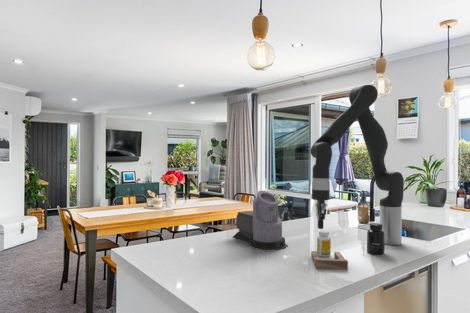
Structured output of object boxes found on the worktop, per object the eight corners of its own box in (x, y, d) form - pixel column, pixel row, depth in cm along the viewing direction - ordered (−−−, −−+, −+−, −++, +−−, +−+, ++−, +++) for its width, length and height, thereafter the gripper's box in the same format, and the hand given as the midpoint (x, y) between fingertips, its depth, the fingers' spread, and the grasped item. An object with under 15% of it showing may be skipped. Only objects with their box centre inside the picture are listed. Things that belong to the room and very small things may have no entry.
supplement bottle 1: (314, 254, 132) (314, 231, 132) (320, 252, 136) (320, 229, 136) (326, 257, 128) (326, 233, 128) (332, 254, 132) (332, 231, 132)
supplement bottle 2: (374, 255, 130) (374, 226, 130) (363, 251, 137) (363, 222, 137) (388, 254, 132) (388, 225, 132) (377, 249, 139) (376, 222, 139)
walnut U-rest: (311, 257, 129) (311, 249, 129) (339, 258, 127) (339, 250, 127) (316, 268, 115) (316, 260, 115) (347, 269, 114) (347, 261, 114)
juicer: (294, 247, 143) (294, 192, 143) (266, 252, 135) (266, 194, 135) (254, 233, 169) (254, 187, 169) (228, 237, 160) (228, 188, 160)
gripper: (332, 190, 133) (332, 232, 133) (326, 187, 146) (326, 225, 146) (314, 189, 133) (313, 231, 133) (309, 187, 147) (309, 225, 146)
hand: (320, 228), depth 140 cm, fingers closed
